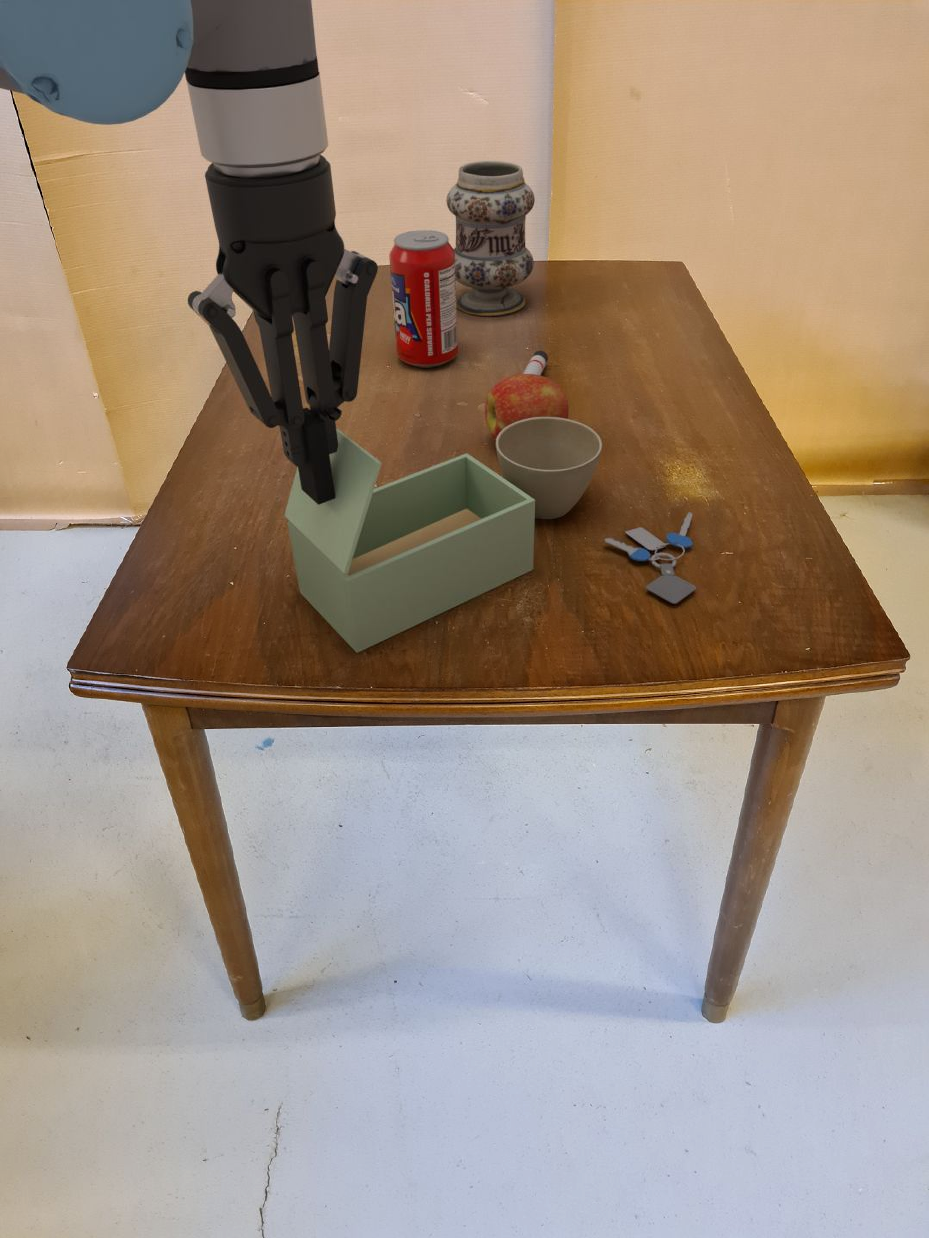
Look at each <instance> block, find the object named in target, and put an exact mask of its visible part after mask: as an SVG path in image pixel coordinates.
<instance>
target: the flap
mask: <svg viewBox="0 0 929 1238" xmlns="http://www.w3.org/2000/svg"><path fill="white" fill-rule="evenodd" d="M336 431H337V439H338V449H337V452H335V453H332V454H329V456H330V463H331V470H332V477H333V484H334V492H335V499H332V500H330V501H327V502H325V503H322V504H319V505H318V504H317V503H316V502H315V501H314V500H312V499H311V498H310V497H309V496H308V495H307V494H306V493H305V492H304V491H303V490H302V489H301V483H300V477H299V471H298V466H297V467H296V471H295V475H294V478H293V482H292V486H291V490H290V494H289V496H288V500H287V505H286V508H285V512H284V517H285V518H286V519H287V520H288V522H291V523H292V524H293V525H294V526H296V527H297V528H298V529H299V530H300V531H301V532H302V533H303V534H304V535H305V536H306V537H307V538H308V539H309V540H310V541H311V542H312V543H313V544H314V545H315V546H316V547H317V548H318V549H319V550H320V551H321V552H322V553H323V554H324V555H325V556H326V557H327V558H328V559H330V560H331V561H332V562H333V563H334V564H335V565H336V566H337V567H338V568H339V569H340V570H341V571H342V572H343V573H348V571H349V568H350V565H351V562H352V558H353V555H354V552H355V549H356V546H357V542H358V539H359V536H360V533H361V529H362V526H363V523H364V520H365V516H366V513H367V510H368V507H369V504H370V500H371V497H372V494H373V491H374V489H375V488H376V487H375V486H376V484H377V480H378V478H379V474H380V471H381V467H382V465H383V463H382V462H381V460H379V459H378V458H376V457H375V456H374V455H372V454H371V453H370V452H368V451H367V450H366V449H365V448H363V447H362V446H361V445H359V444H358V443H357V442H356V441H354V440H353V439H352V438H350V437H349V436H348V435H347V434H345V433H344V432H343V431H341V430H340V429H338V428H337V427H336Z"/></svg>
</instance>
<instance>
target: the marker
mask: <svg viewBox="0 0 929 1238" xmlns="http://www.w3.org/2000/svg"><path fill="white" fill-rule="evenodd" d="M548 361H549V356H548V354H547V353H546V352H545V350H536V351H535V352H533V355H532V357H531V358H530V359H529V362H528V363H527V365H526V367H525V368H524V371H523V372H522V374H535V375H540V376H542V373H543V371H544V370H545V368H546V365H547V363H548Z"/></svg>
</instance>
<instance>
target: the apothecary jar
mask: <svg viewBox="0 0 929 1238" xmlns="http://www.w3.org/2000/svg"><path fill="white" fill-rule="evenodd" d="M535 201H536V200H535V193H534V191H533V189H532V188H531V187H530V186H529V185H528V184H527V183H526V182H525V177H524V171H523V167H522V166H521V165H519V164H516V163H513V162H510V161H509V162H507V161H501V160H478V161H473V162H468V163H465V164H463V165H461V166H460V167H459V169H458V177H457V182H456V183H455V184H454V185H453V186H452V187H451V188H450V190H449V191H448V193H447V196H446V206H447V208H448V210H449V212H450V213H451V214H452V215H453V216H454V217H455V247H454V248H453V249H454V252H455V271H456V282H458V283H459V284H461V285H463V286H465V287H467V288H469V289H471V290H468V291H466V292H465V293H463V294H462V295H460V296H459V297H458V299H456V303H457V309H458V310H460V311H462V312H463V313H466V314H469V315H472V316H479V317H499V316H507V315H510V314H514V313H516V312H519V311H520V310H521V309H523V308H524V306H525V305H526V298H525V297H524V295H522V293H520V292H518V291H516V290H514V289H510V288H512V287H515V286H517V285H519V284H521V283H523V282H524V281H526V280H527V278H529V276H530V275H531V273H532V272H533V269H534V264H535V262H534V257H533V254H532V253H531V251H530V250H529V249H528V248H527V246H526V217H527V215H528V214H529V213H530V212H531V211H532V210H533V208H534V206H535Z"/></svg>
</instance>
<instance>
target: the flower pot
mask: <svg viewBox="0 0 929 1238" xmlns="http://www.w3.org/2000/svg"><path fill="white" fill-rule="evenodd" d="M602 449H603V442H602V439H601V437H600V435H599V434H598V433H597V432H596V431H595V430H594V429H593V428H591V427H590V426H588V425H586V424H584V423H581V422H580V421H576V420H573V419H569V418H568V419H565V418H558V417H535V418H528V419H524V420H520V421H517V422H515V423H512V424H510V425H509V426H507V427H505V428H504V429H503V430H502V431H501V432H500V433H499V434H498V436H497V438H496V440H495V450H496V457H497V461H498V465H499V470H500V472H501V476H502V477H503V478H504V479H505V480H507V481H508V482H510V483H511V484H513V485H514V486H516V487H517V488H519V489H520V490H521V491H523V492H524V493H526V494H527V495H529V496H530V497H531V498H533V499H535V519H538V520H553V519H558V518H561V517H564V516H565V515H567V514H568V513H569V512H571V510H572V509H573V508H574V507H575V505H576V504H577V503H578V502H579V501H580V500H581V498H582V496H583V495H584V494H585V491H586V490H587V488H588V487H589V485H590V483H591V481H592V479H593V478H594V474H595V472H596V471H597V467H598V464H599V461H600V458H601V455H602Z"/></svg>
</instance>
